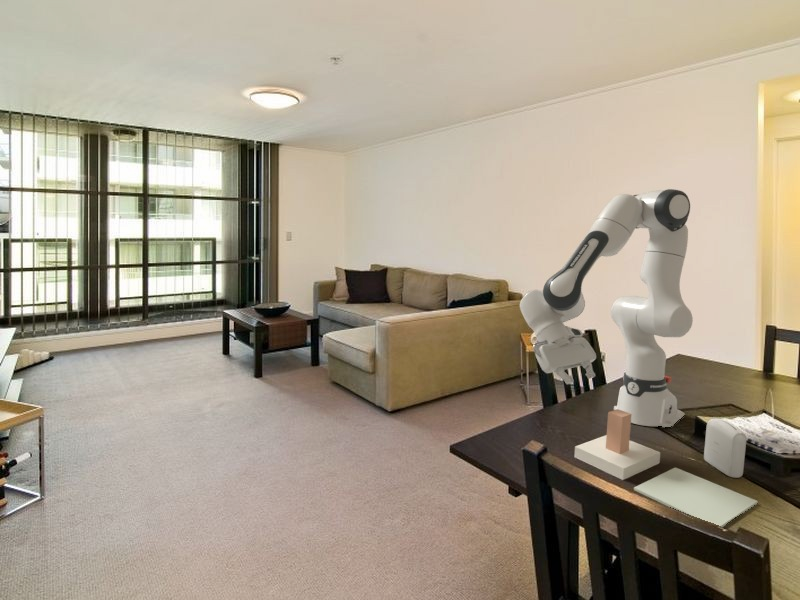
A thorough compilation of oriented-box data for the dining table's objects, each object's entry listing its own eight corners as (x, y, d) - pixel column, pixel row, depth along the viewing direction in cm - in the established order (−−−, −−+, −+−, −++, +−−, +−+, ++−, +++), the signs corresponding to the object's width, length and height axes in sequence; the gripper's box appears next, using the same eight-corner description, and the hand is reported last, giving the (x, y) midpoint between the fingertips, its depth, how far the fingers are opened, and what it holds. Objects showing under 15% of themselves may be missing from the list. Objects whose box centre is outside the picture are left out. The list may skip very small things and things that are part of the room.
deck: (610, 443, 136) (611, 433, 136) (659, 463, 125) (660, 452, 124) (574, 457, 128) (574, 446, 127) (622, 480, 116) (623, 468, 116)
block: (614, 444, 128) (617, 409, 127) (628, 450, 125) (631, 413, 124) (605, 448, 126) (608, 412, 125) (619, 454, 123) (622, 417, 122)
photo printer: (700, 458, 127) (704, 414, 125) (716, 458, 127) (720, 414, 125) (728, 478, 117) (734, 430, 115) (745, 478, 117) (751, 430, 115)
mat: (675, 469, 121) (675, 467, 121) (757, 503, 106) (757, 501, 106) (633, 489, 112) (633, 487, 112) (717, 530, 97) (718, 527, 97)
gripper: (536, 337, 133) (563, 380, 126) (584, 329, 143) (611, 368, 137) (524, 349, 137) (549, 392, 130) (570, 340, 148) (596, 379, 141)
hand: (581, 380), depth 133 cm, fingers open, 8 cm apart
